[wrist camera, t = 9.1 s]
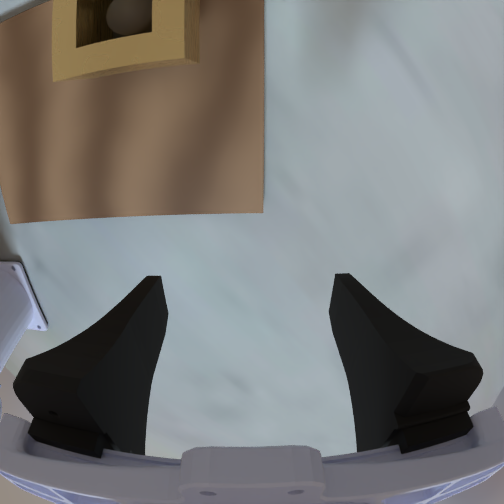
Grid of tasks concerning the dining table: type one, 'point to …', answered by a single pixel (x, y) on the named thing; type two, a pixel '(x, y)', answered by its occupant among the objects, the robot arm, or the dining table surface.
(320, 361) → the dining table surface
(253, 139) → the peg board
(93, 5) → the brass collar
